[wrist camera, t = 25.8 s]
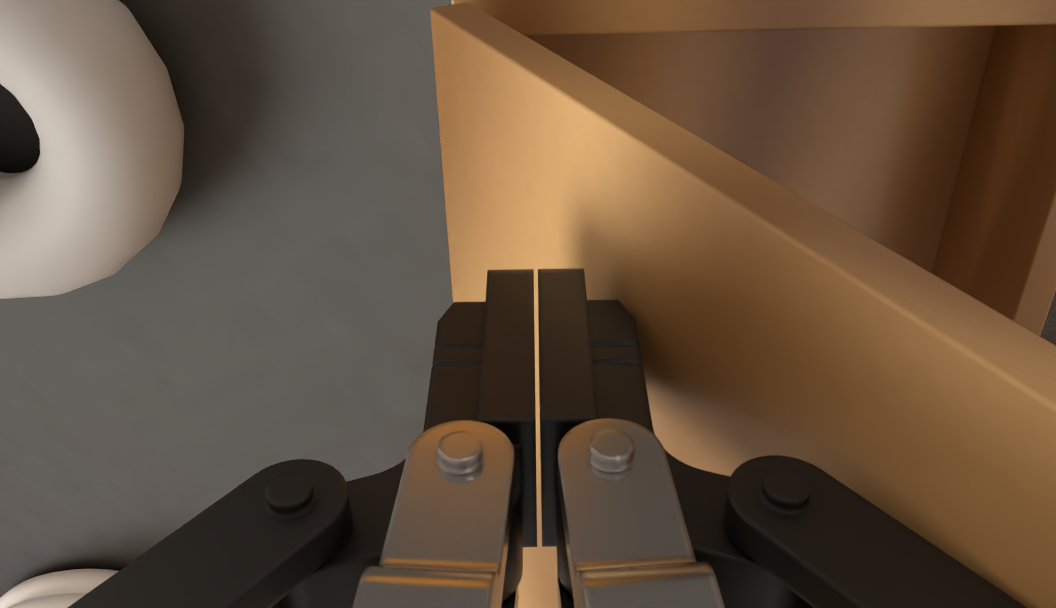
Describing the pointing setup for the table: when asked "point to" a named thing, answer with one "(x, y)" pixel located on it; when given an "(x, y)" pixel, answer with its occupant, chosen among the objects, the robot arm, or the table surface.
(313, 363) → the table surface
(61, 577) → the coaster
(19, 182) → the donut
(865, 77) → the wooden box
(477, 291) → the lid
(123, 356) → the table surface
